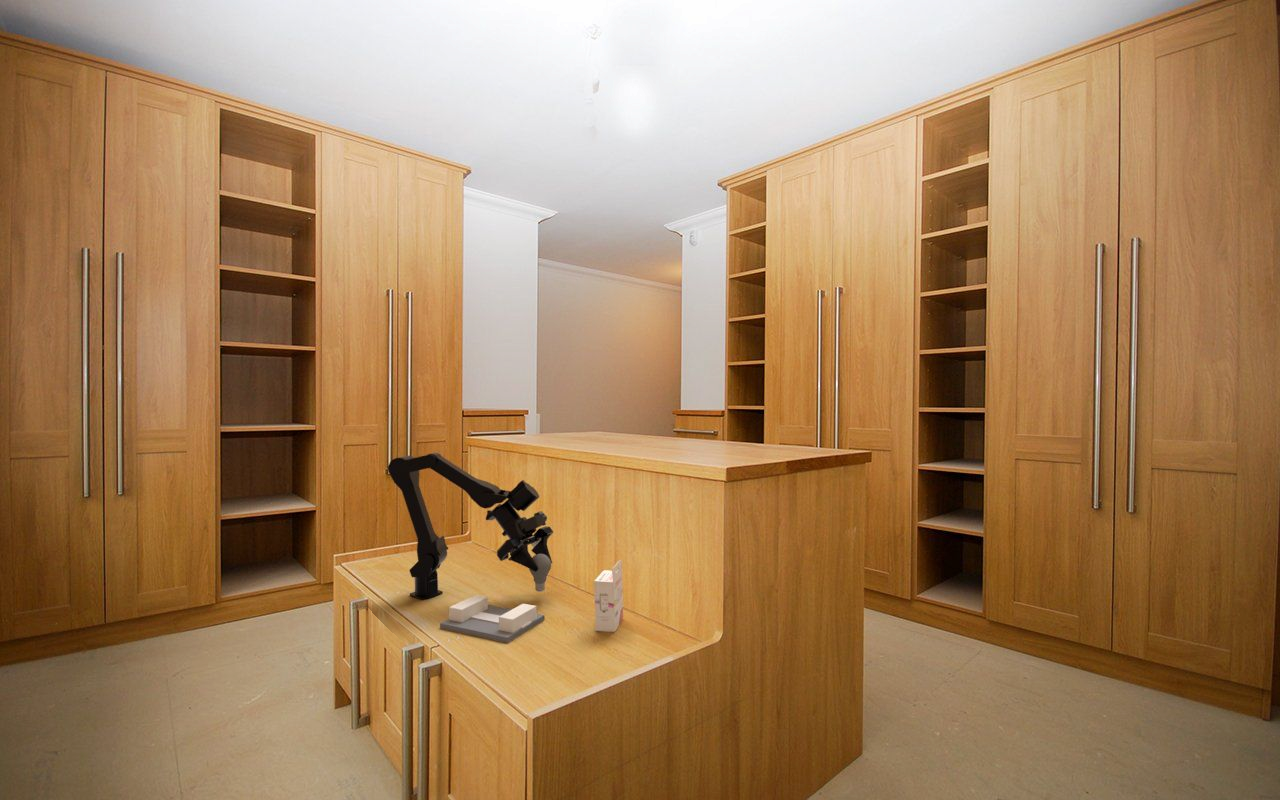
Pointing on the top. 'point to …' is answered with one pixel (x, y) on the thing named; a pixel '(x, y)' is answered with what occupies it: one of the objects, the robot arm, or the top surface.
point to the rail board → (491, 619)
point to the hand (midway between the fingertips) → (544, 567)
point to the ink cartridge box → (609, 599)
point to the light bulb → (541, 571)
